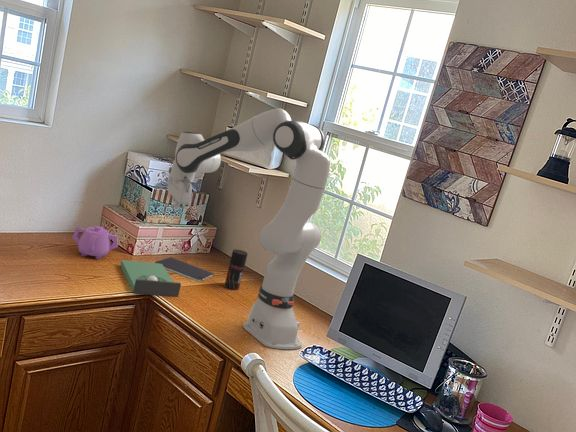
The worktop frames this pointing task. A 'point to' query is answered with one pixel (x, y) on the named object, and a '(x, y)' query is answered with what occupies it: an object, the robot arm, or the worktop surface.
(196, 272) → the notebook
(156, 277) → the ball
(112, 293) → the worktop surface
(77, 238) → the pot
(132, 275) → the green
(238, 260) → the deodorant
